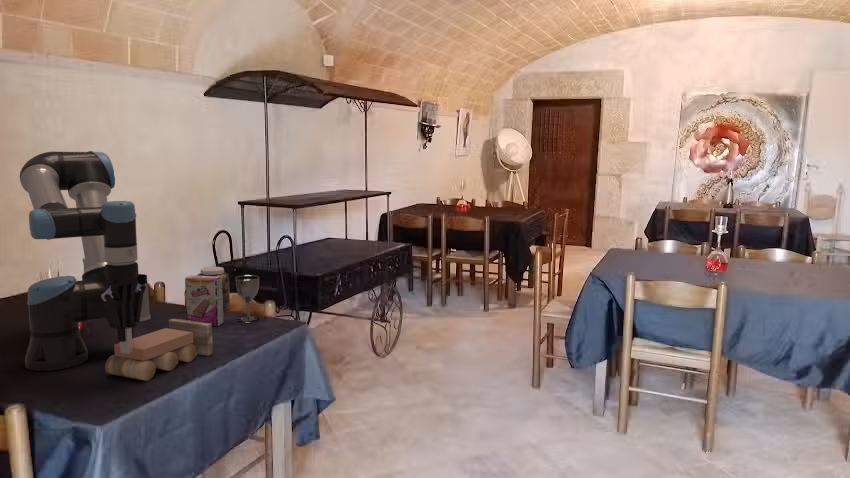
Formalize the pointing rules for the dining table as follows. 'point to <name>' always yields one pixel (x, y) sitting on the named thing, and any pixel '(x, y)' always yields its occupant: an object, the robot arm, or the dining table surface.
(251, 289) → the wine glass
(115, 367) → the roller rack
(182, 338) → the slab
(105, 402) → the dining table surface
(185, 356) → the roller loose
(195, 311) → the candy bar box
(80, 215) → the robot arm
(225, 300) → the jar
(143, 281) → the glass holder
